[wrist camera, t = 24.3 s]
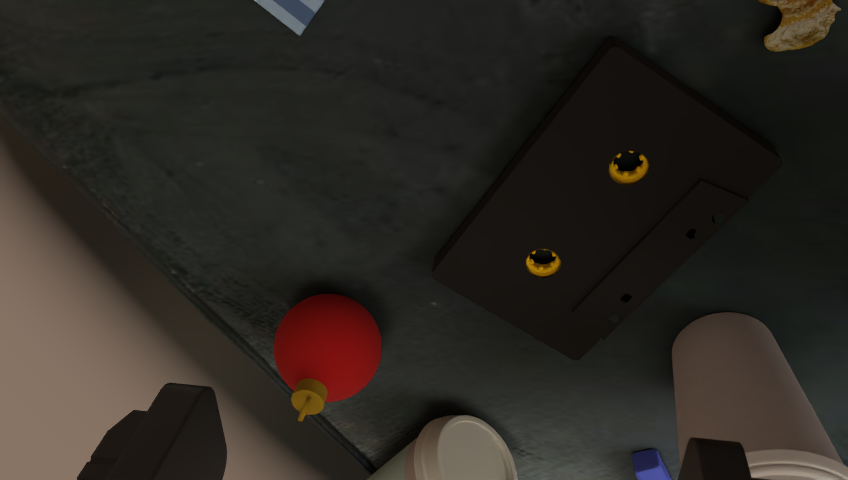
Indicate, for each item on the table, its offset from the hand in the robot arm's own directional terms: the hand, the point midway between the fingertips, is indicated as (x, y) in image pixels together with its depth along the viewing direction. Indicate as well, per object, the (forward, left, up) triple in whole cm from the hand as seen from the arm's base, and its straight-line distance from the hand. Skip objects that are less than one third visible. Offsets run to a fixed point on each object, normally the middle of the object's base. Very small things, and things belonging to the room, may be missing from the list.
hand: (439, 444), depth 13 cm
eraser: (-33, +19, -31) cm, 49 cm away
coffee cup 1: (-19, +37, -29) cm, 51 cm away
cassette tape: (-12, +7, -32) cm, 35 cm away
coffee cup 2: (-26, +9, -32) cm, 42 cm away
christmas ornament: (-6, +25, -32) cm, 41 cm away
